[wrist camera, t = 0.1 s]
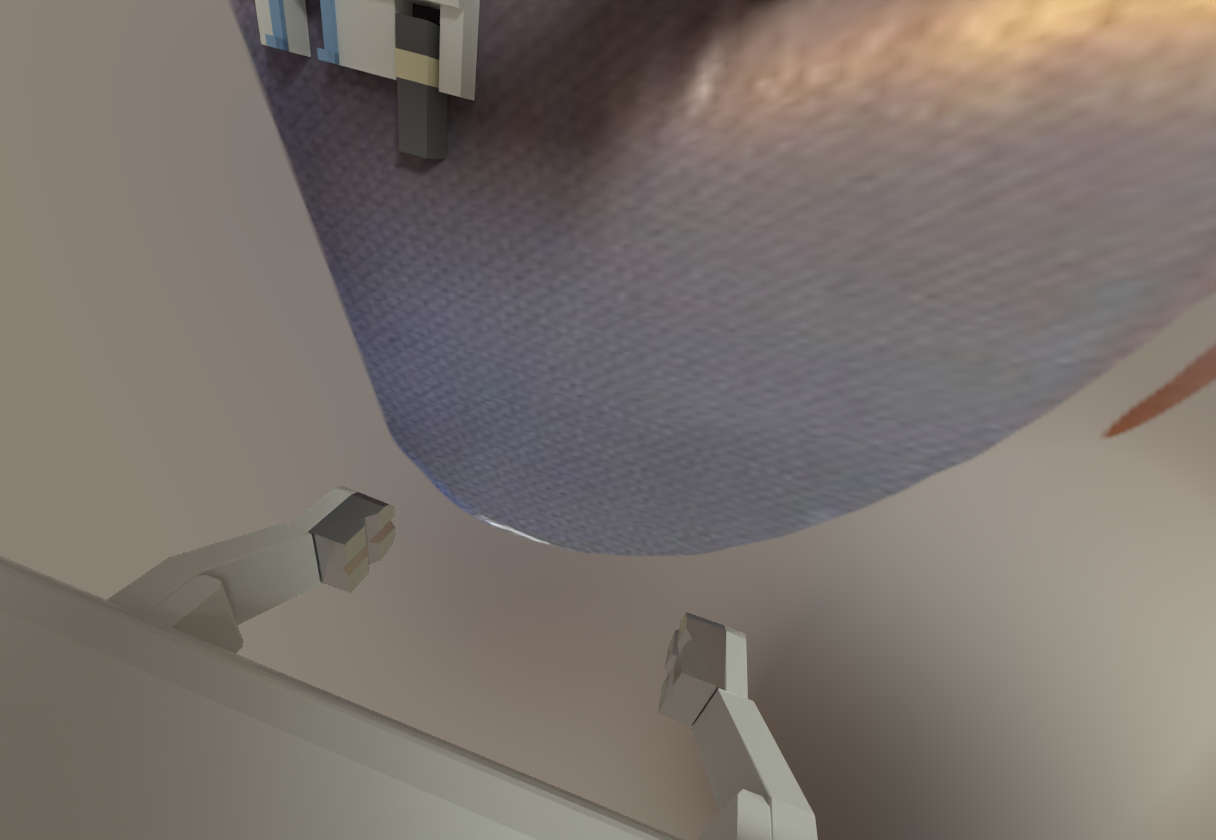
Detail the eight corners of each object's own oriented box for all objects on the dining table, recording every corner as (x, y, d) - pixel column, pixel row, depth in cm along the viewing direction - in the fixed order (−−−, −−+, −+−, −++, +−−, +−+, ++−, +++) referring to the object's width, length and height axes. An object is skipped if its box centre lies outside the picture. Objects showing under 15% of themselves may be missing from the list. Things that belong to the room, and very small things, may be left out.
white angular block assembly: (271, -51, 48) (230, -70, 44) (479, 0, 46) (455, -16, 42) (284, 50, 52) (248, 40, 48) (474, 100, 50) (452, 95, 46)
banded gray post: (418, 23, 48) (393, 11, 44) (450, 31, 47) (428, 20, 44) (418, 151, 54) (397, 150, 51) (447, 159, 54) (427, 159, 50)
